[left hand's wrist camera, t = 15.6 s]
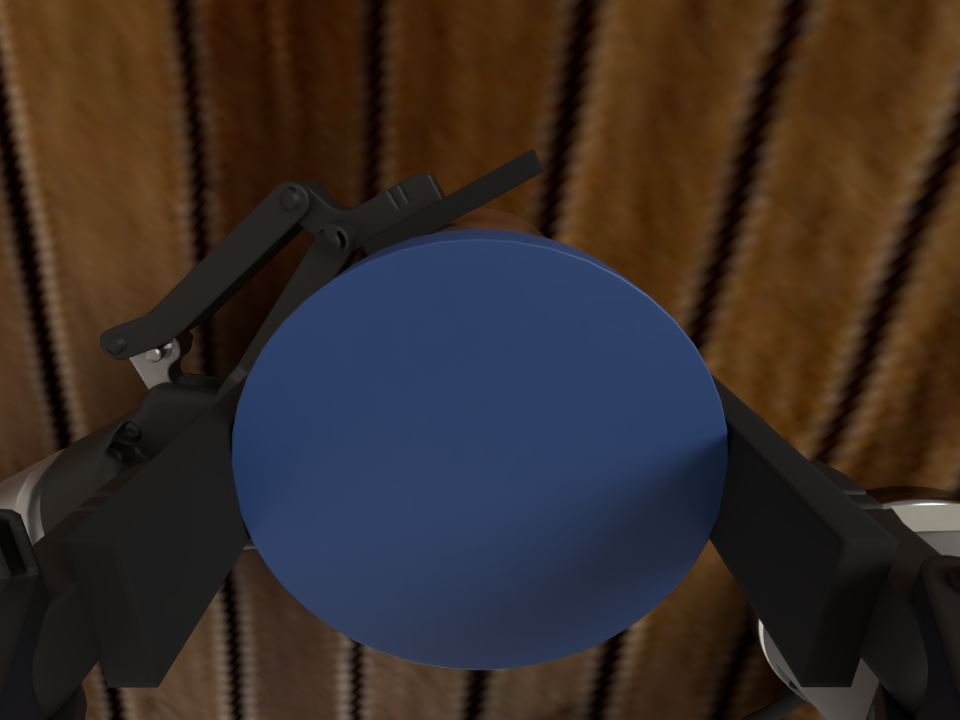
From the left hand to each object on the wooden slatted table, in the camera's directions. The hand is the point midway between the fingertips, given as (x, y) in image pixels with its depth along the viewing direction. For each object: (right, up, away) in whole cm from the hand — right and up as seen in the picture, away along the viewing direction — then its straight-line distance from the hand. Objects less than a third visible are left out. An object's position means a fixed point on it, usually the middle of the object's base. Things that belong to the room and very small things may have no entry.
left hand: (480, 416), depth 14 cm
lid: (0, -1, -3) cm, 3 cm away
